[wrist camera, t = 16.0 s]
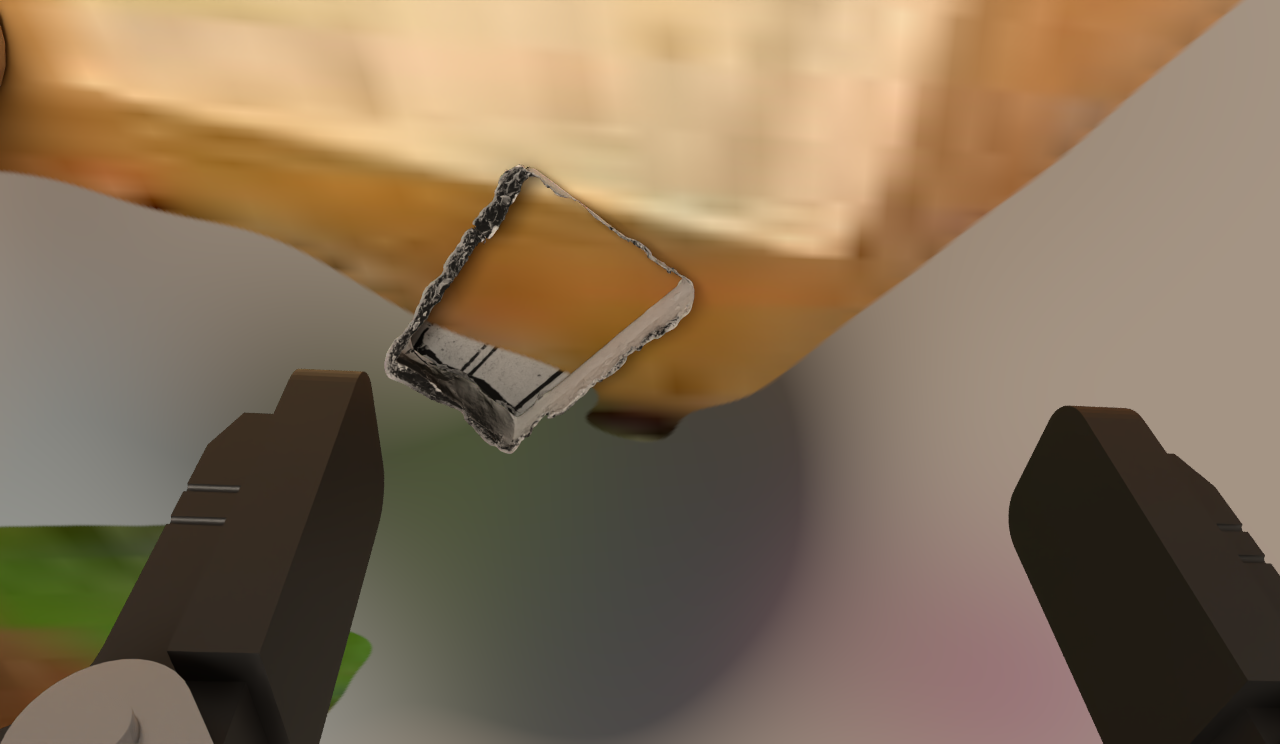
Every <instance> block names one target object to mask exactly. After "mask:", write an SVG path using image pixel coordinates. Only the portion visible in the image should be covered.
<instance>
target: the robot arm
mask: <svg viewBox="0 0 1280 744" xmlns="http://www.w3.org/2000/svg"><path fill="white" fill-rule="evenodd" d="M5 67H6V58H5V41H4V37H3V33H2V30H1V26H0V86H1V83H2V79H3V75H4V71H5ZM383 495H384V468H383V461H382V454H381V447H380V440H379V434H378V427H377V420H376V413H375V407H374V400H373V393H372V387H371V382H370V378H369V376H368V374H367V373H366V372H358V371H336V370H335V371H334V370H314V369H297V370H295V371H294V372H293V374H292V375H291V377H290V379H289V381H288V383H287V385H286V388H285V390H284V392H283V394H282V396H281V399H280V401H279V403H278V405H277V407H276V410H275V412H274V414H262V413H261V414H260V413H243V414H242V415H241V416H240V417H239V418H238V419H236V420H235V421H234V422H233V423H232V424H231V425H230V426H229V427H227V428H226V429H225V430H224V431H223V432H222V433H221V434H219V435H218V436H217V437H216V438H215V439H214V440H213V441H211V442H210V443H209V444H208V445H207V447H206V449H205V451H204V453H203V455H202V456H201V458H200V460H199V463H198V464H197V466H196V468H195V470H194V472H193V474H192V476H191V478H190V480H189V482H188V489H187V491H184V492H183V493H182V495H181V497H180V499H179V501H178V503H177V505H176V507H175V509H174V511H173V513H172V514H171V522H170V524H166V526H165V528H164V530H163V532H162V534H161V536H160V538H159V539H158V541H157V543H156V545H155V547H154V549H153V551H152V553H151V555H150V557H149V559H148V561H147V563H146V565H145V566H144V568H143V570H142V572H141V574H140V576H139V578H138V580H137V582H136V584H135V586H134V588H133V590H132V592H131V593H130V595H129V597H128V599H127V601H126V603H125V605H124V607H123V609H122V611H121V613H120V615H119V617H118V619H117V621H116V622H115V624H114V626H113V628H112V630H111V632H110V634H109V636H108V638H107V640H106V642H105V644H104V646H103V647H102V649H101V651H100V652H99V654H98V656H97V657H96V659H95V660H94V662H93V663H92V664H91V665H90V667H88V668H85V669H83V670H80V671H78V672H75V673H73V674H72V675H70V676H68V677H66V678H64V679H62V680H60V681H59V682H57V683H56V684H54V685H53V686H51V687H50V688H48V689H47V690H45V691H44V692H43V693H42V694H40V695H39V696H38V697H37V698H36V699H35V700H33V701H32V702H31V703H30V704H29V705H28V706H27V707H26V708H25V709H24V710H23V711H22V712H21V713H20V715H19V716H18V717H17V718H16V719H15V721H14V722H13V724H11V725H9V726H7V727H4V728H2V729H0V744H319V742H320V739H321V735H322V731H323V728H324V724H325V720H326V717H327V713H328V709H329V706H330V702H331V698H332V695H333V691H334V687H335V683H336V680H337V676H338V672H339V669H340V665H341V661H342V658H343V654H344V650H345V647H346V643H347V639H348V636H349V632H350V628H351V625H352V621H353V617H354V613H355V610H356V606H357V603H358V599H359V595H360V591H361V587H362V584H363V580H364V577H365V573H366V569H367V566H368V562H369V558H370V555H371V551H372V547H373V544H374V540H375V536H376V533H377V529H378V525H379V521H380V517H381V512H382V505H383ZM1241 527H1242V523H1241V522H1240V521H1239V519H1238V518H1237V516H1236V515H1235V514H1234V512H1233V511H1232V510H1231V508H1230V507H1229V506H1228V504H1227V503H1226V502H1225V500H1224V499H1223V497H1222V496H1221V495H1220V493H1219V492H1218V490H1217V489H1216V488H1215V487H1214V486H1213V485H1212V484H1210V482H1208V481H1207V480H1206V479H1205V478H1203V477H1202V476H1201V475H1200V474H1199V473H1197V472H1196V471H1195V470H1193V469H1192V468H1191V467H1190V466H1189V465H1187V464H1186V463H1185V462H1184V461H1183V460H1181V459H1180V458H1179V457H1178V456H1176V455H1175V454H1167V453H1166V452H1165V450H1164V449H1163V447H1162V446H1161V444H1160V443H1159V442H1158V440H1157V439H1156V437H1155V436H1154V434H1153V433H1152V431H1151V430H1150V429H1149V427H1148V426H1147V424H1146V423H1145V421H1144V420H1143V419H1142V418H1141V416H1140V415H1139V414H1138V413H1136V412H1135V411H1133V410H1131V409H1127V408H1108V407H1085V406H1063V407H1061V408H1059V409H1058V410H1056V411H1055V413H1054V414H1053V415H1052V417H1051V418H1050V420H1049V422H1048V424H1047V426H1046V428H1045V430H1044V432H1043V434H1042V436H1041V438H1040V440H1039V442H1038V444H1037V446H1036V448H1035V450H1034V452H1033V454H1032V456H1031V458H1030V460H1029V462H1028V464H1027V466H1026V468H1025V470H1024V472H1023V474H1022V476H1021V478H1020V480H1019V482H1018V484H1017V486H1016V488H1015V490H1014V492H1013V494H1012V497H1011V501H1010V506H1009V529H1010V535H1011V539H1012V542H1013V545H1014V547H1015V549H1016V552H1017V554H1018V556H1019V558H1020V561H1021V563H1022V565H1023V567H1024V569H1025V572H1026V574H1027V576H1028V578H1029V580H1030V583H1031V585H1032V587H1033V589H1034V592H1035V594H1036V596H1037V598H1038V600H1039V603H1040V605H1041V607H1042V609H1043V611H1044V614H1045V616H1046V618H1047V620H1048V622H1049V624H1050V627H1051V629H1052V631H1053V633H1054V636H1055V638H1056V640H1057V642H1058V645H1059V647H1060V649H1061V651H1062V653H1063V656H1064V657H1065V660H1066V662H1067V664H1068V667H1069V669H1070V671H1071V673H1072V675H1073V678H1074V680H1075V682H1076V684H1077V686H1078V688H1079V691H1080V693H1081V695H1082V698H1083V700H1084V702H1085V704H1086V706H1087V708H1088V711H1089V713H1090V715H1091V717H1092V720H1093V722H1094V724H1095V726H1096V728H1097V731H1098V733H1099V735H1100V737H1101V739H1102V742H1103V744H1280V576H1279V574H1278V573H1277V571H1276V570H1275V569H1274V567H1273V566H1272V564H1266V563H1265V561H1264V557H1265V555H1264V553H1263V552H1262V551H1261V549H1260V548H1259V547H1258V545H1257V544H1256V543H1255V541H1254V540H1253V538H1252V537H1251V536H1250V534H1249V533H1248V532H1243V531H1242V528H1241Z"/></svg>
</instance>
